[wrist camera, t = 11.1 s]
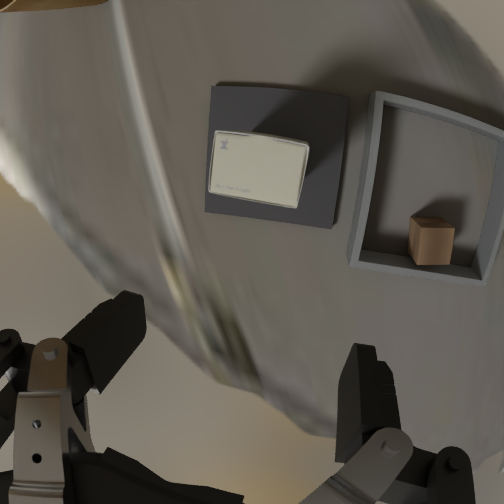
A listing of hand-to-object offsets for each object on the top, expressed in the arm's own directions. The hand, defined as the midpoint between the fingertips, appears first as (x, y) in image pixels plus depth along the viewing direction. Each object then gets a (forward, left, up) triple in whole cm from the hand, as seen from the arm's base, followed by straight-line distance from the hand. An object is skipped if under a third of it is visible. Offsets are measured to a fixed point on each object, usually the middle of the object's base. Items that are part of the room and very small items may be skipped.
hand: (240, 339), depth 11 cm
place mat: (+2, -4, -23) cm, 24 cm away
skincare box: (+2, -4, -23) cm, 23 cm away
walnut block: (-16, +2, -24) cm, 28 cm away
